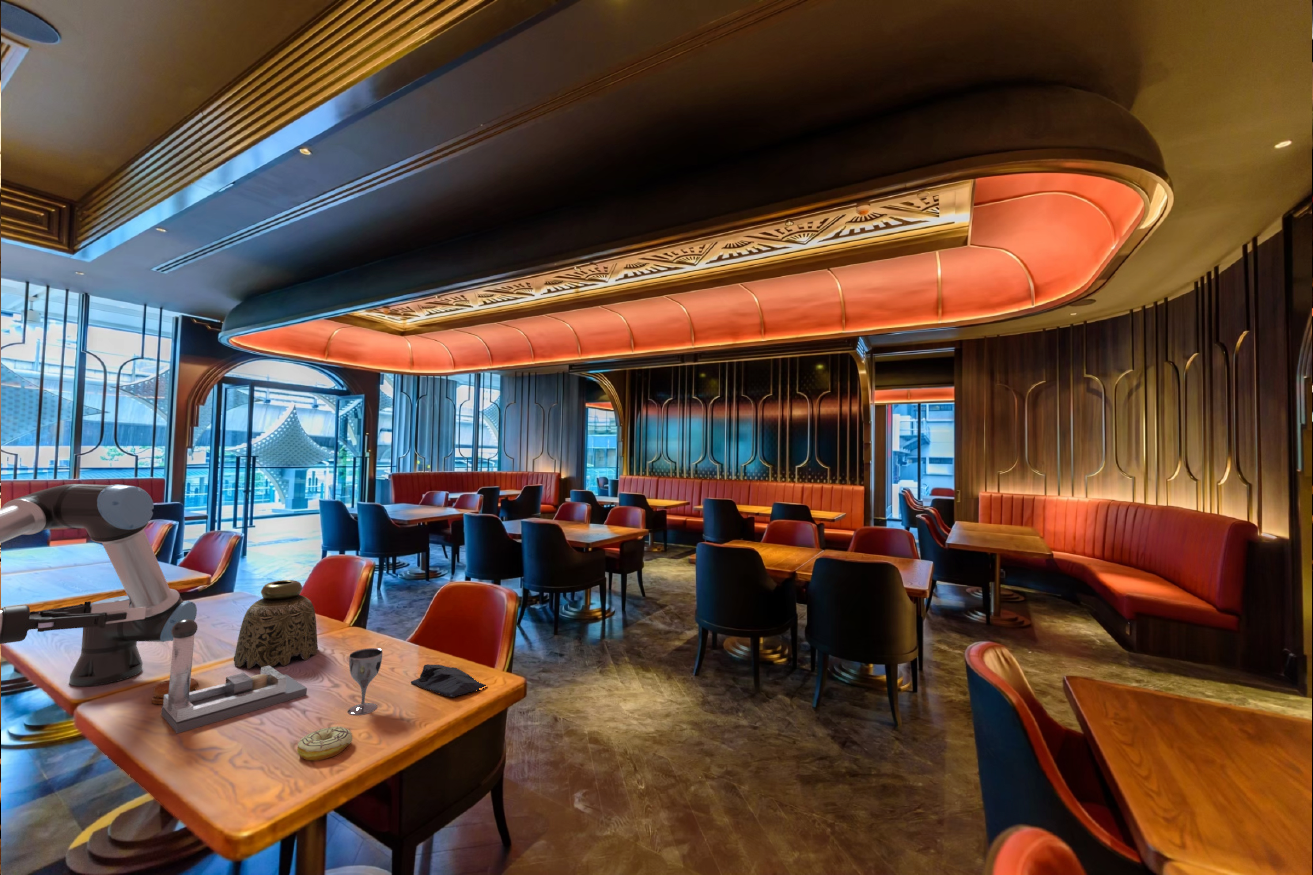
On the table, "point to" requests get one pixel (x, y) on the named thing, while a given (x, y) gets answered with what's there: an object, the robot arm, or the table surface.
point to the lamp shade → (277, 627)
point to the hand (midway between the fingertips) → (136, 609)
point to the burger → (164, 689)
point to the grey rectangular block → (238, 684)
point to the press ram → (180, 687)
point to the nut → (259, 681)
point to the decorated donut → (324, 743)
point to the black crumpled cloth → (446, 680)
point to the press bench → (235, 707)
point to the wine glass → (364, 675)
